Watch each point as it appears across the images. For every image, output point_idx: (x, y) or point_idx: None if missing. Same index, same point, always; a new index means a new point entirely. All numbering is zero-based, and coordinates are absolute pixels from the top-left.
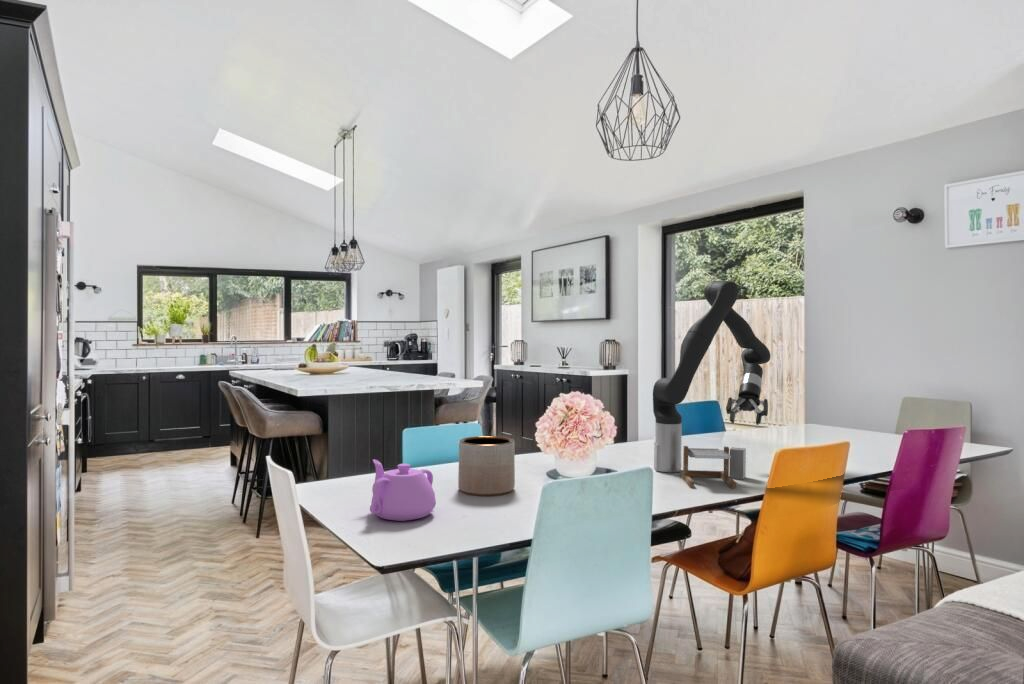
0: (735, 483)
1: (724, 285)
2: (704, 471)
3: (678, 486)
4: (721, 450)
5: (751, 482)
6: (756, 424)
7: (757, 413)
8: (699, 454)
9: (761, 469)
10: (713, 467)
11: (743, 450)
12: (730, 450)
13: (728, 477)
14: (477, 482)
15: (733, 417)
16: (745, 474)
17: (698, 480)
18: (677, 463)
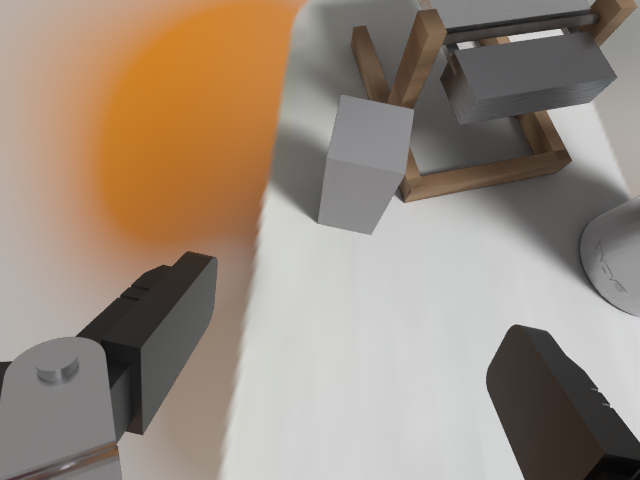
0: (356, 29)
1: None
2: (480, 165)
3: (518, 36)
4: (448, 19)
5: (299, 142)
6: (211, 303)
7: (131, 346)
8: None
9: (227, 441)
10: (467, 404)
11: (340, 97)
12: (408, 112)
13: (383, 89)
14: None
15: (535, 360)
16: (318, 218)
17: (479, 123)
18: (615, 212)
